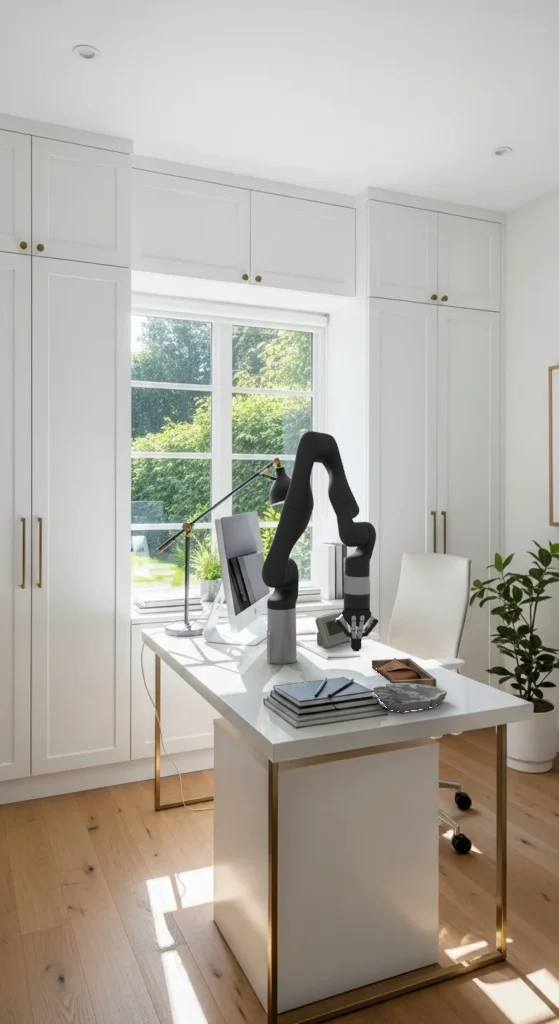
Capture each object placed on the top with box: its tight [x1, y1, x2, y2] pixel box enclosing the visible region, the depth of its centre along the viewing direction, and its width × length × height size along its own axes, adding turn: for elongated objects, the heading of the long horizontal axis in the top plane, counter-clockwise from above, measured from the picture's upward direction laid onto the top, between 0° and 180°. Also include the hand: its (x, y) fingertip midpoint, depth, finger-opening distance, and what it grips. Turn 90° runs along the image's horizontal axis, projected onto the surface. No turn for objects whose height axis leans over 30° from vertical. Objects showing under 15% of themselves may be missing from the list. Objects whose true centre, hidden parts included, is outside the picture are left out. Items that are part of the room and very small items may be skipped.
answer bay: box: [371, 657, 437, 687], centre depth 207 cm, size 12×24×2 cm, turn 7°
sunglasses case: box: [374, 657, 421, 684], centre depth 208 cm, size 18×7×7 cm, turn 13°
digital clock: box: [314, 611, 351, 649], centre depth 252 cm, size 16×9×11 cm, turn 130°
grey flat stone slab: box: [372, 682, 448, 712], centre depth 183 cm, size 20×17×3 cm
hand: (355, 650), depth 205 cm, fingers closed
